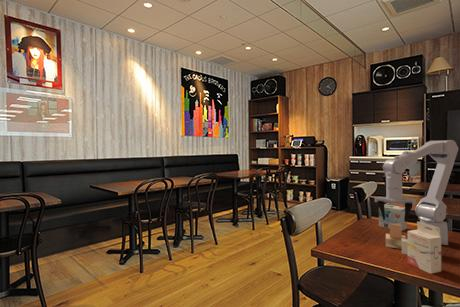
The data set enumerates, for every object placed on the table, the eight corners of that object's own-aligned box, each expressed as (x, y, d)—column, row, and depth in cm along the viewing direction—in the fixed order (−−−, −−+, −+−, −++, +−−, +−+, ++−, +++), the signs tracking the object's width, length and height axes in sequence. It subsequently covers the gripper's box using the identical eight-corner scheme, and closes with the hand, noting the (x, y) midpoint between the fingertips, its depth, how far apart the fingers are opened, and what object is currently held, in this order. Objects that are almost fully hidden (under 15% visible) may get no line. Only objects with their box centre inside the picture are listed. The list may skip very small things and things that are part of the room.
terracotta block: (401, 236, 112) (400, 224, 112) (401, 239, 108) (401, 227, 108) (389, 234, 114) (389, 223, 114) (389, 237, 110) (389, 225, 110)
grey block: (413, 252, 104) (413, 239, 104) (414, 256, 100) (414, 242, 100) (401, 250, 106) (401, 238, 106) (401, 254, 102) (401, 241, 102)
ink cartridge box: (406, 263, 94) (406, 222, 94) (417, 261, 95) (416, 220, 95) (431, 274, 86) (430, 229, 86) (442, 271, 87) (441, 227, 87)
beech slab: (405, 244, 112) (405, 235, 112) (406, 249, 106) (405, 240, 106) (386, 241, 116) (385, 233, 116) (385, 246, 110) (385, 238, 110)
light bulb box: (378, 226, 137) (378, 205, 137) (384, 224, 141) (384, 203, 141) (401, 231, 128) (401, 209, 128) (407, 228, 132) (407, 207, 132)
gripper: (374, 188, 112) (374, 220, 112) (416, 190, 104) (416, 224, 104) (374, 186, 118) (375, 216, 118) (414, 187, 110) (414, 220, 110)
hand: (394, 220), depth 112 cm, fingers open, 7 cm apart
